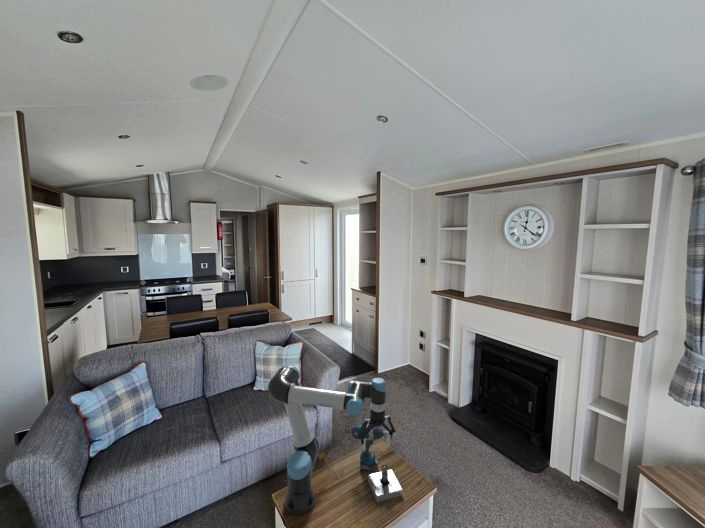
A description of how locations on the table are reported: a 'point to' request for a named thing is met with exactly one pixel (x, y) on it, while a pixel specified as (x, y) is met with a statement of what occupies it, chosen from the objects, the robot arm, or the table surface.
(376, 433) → the impact wrench
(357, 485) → the table surface
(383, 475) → the flashlight
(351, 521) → the table surface
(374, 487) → the socket block
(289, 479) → the robot arm
